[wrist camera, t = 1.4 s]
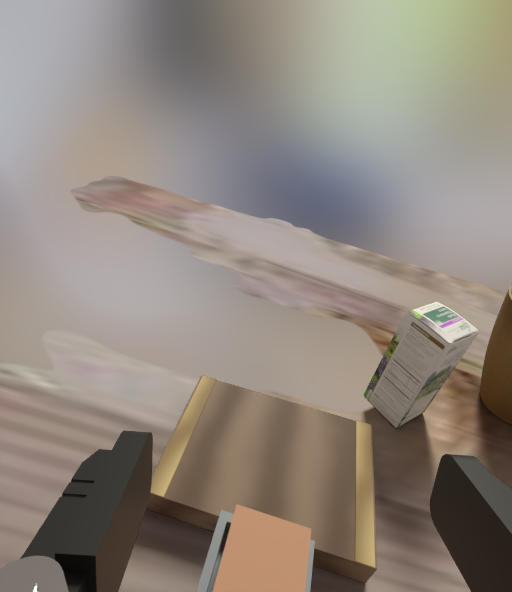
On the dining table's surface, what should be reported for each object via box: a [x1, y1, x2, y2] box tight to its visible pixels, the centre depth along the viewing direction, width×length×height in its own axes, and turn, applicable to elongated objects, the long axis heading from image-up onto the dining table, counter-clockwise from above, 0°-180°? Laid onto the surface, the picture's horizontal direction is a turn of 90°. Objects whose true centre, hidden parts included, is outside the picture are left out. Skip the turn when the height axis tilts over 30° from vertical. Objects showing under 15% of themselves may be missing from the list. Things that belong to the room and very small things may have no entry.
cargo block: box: [212, 504, 311, 592], centre depth 19 cm, size 4×4×4 cm
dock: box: [146, 375, 377, 583], centre depth 37 cm, size 20×14×3 cm
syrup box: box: [364, 302, 479, 428], centre depth 44 cm, size 6×6×14 cm
